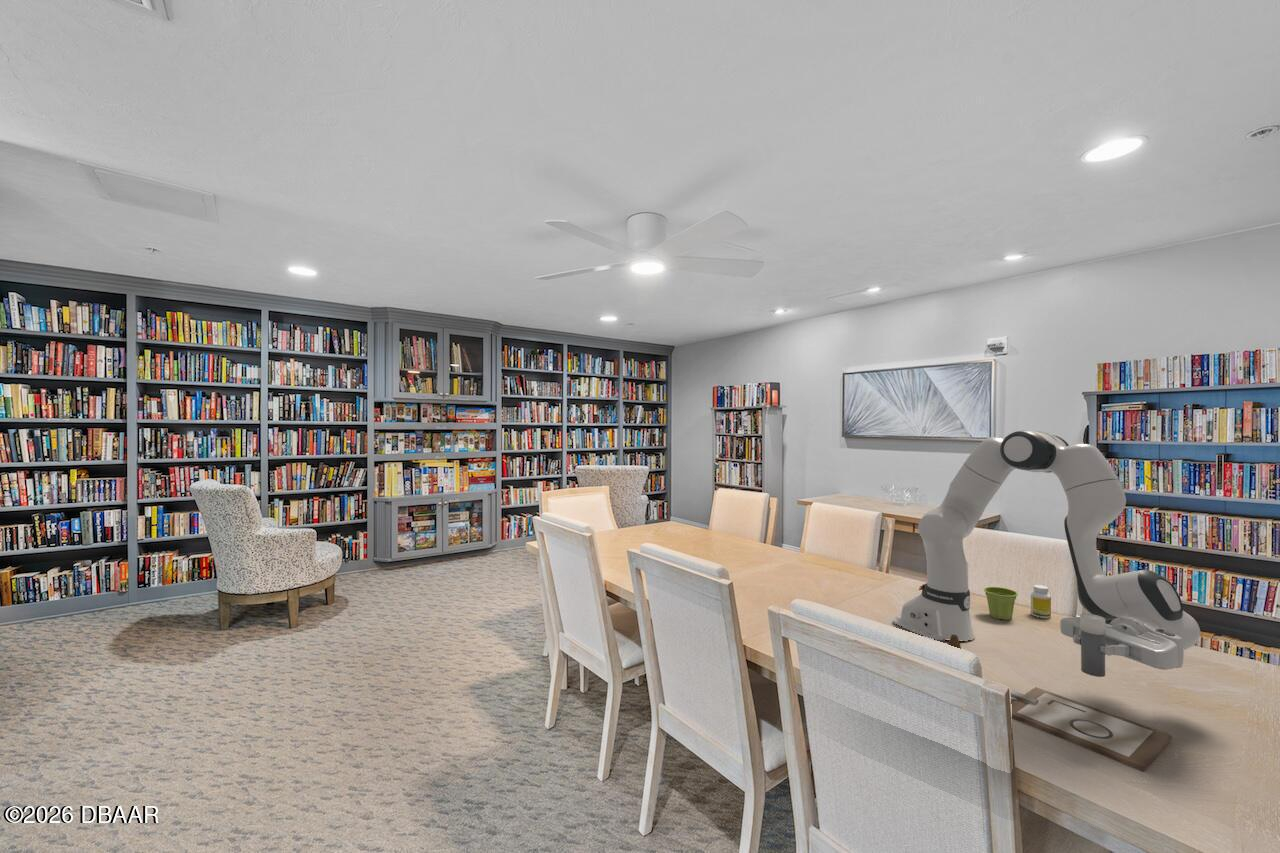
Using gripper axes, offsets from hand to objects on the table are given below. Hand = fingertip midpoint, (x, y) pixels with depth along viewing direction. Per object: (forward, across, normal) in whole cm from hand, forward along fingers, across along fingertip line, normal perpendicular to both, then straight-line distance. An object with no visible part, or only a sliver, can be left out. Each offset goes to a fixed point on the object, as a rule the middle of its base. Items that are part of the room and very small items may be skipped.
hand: (1089, 645), depth 115 cm
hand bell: (+20, -16, +17) cm, 31 cm away
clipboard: (+2, 0, +17) cm, 17 cm away
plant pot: (-39, -54, +17) cm, 69 cm away
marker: (-1, 0, +6) cm, 6 cm away
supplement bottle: (-53, -50, +17) cm, 75 cm away
